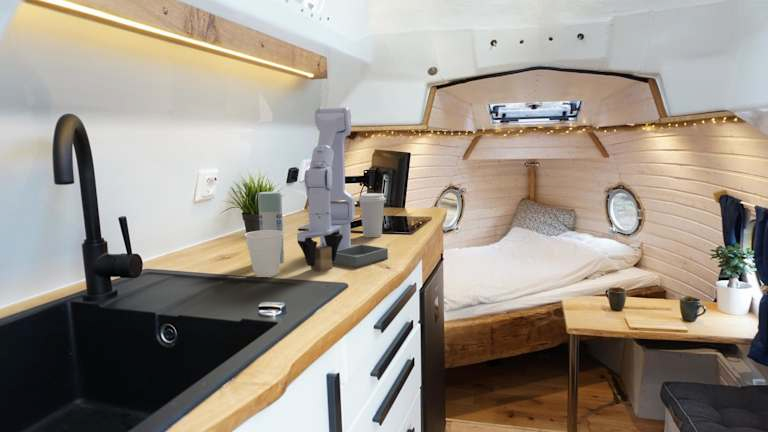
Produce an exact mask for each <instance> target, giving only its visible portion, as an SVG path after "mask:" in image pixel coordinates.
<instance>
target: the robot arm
mask: <svg viewBox="0 0 768 432" xmlns="http://www.w3.org/2000/svg"><path fill="white" fill-rule="evenodd" d="M314 123H315V124H314V125H315V126H316V127H317V131H319V135H318V146H315V147H314V148H313V151H312V154H311V155H312V156H311V161H310V165H309V168H308V170H307V169H306V170H305V172H304V177H303V179H304V186H305V193H306V197H307V201H308V202H307V203H308V221H309V222H308V223H309V224H308V225H309V227H308V228H309V229H307V230H303V231H301V232H297V233H296V236H297V237H296V238H297V239H296V240H297V244H298V246H299V247H300V248H301V251H302V253H303V255H304V258H305V261H306V265H307V266H308V267H311V266H312V267H313V266H314V265H315V250H316V246H318V245H317V244H318V241H316V240H314V239H315V238H319V239H320V243H319V244H320V245H323V246H329V247H331V248H332V261H335V258H336V253H337V250H341V249H345V248H349V247H352V237H351V234H352V233H351V231H352V230H351V222H353V221H354V220H355V217H356V204H355V197H354V196H353V195H352V194H350V193H349V192H348V191H347V190H346V176H345V175H346V174H345V173H346V170H345V169H346V168H345V167H346V166H345V164H346V159H345V151H346V150H345V142H346V137H348V136H350V135H351V132H352V115H351V110H350V108H349V107H348V106H341V107H340V106H339V107H336V106H335V107H318V106H317V108H316V109H315V111H314ZM320 245H319V246H320Z"/></svg>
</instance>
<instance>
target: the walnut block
mask: <svg viewBox="0 0 768 432" xmlns="http://www.w3.org/2000/svg"><path fill="white" fill-rule="evenodd" d="M331 269H333V263H332V248H331V247H329V246H323V245H316V250H315V265H314V266H313V267H312V266H310V270H313V271H316V272H324V271H328V270H331Z"/></svg>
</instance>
